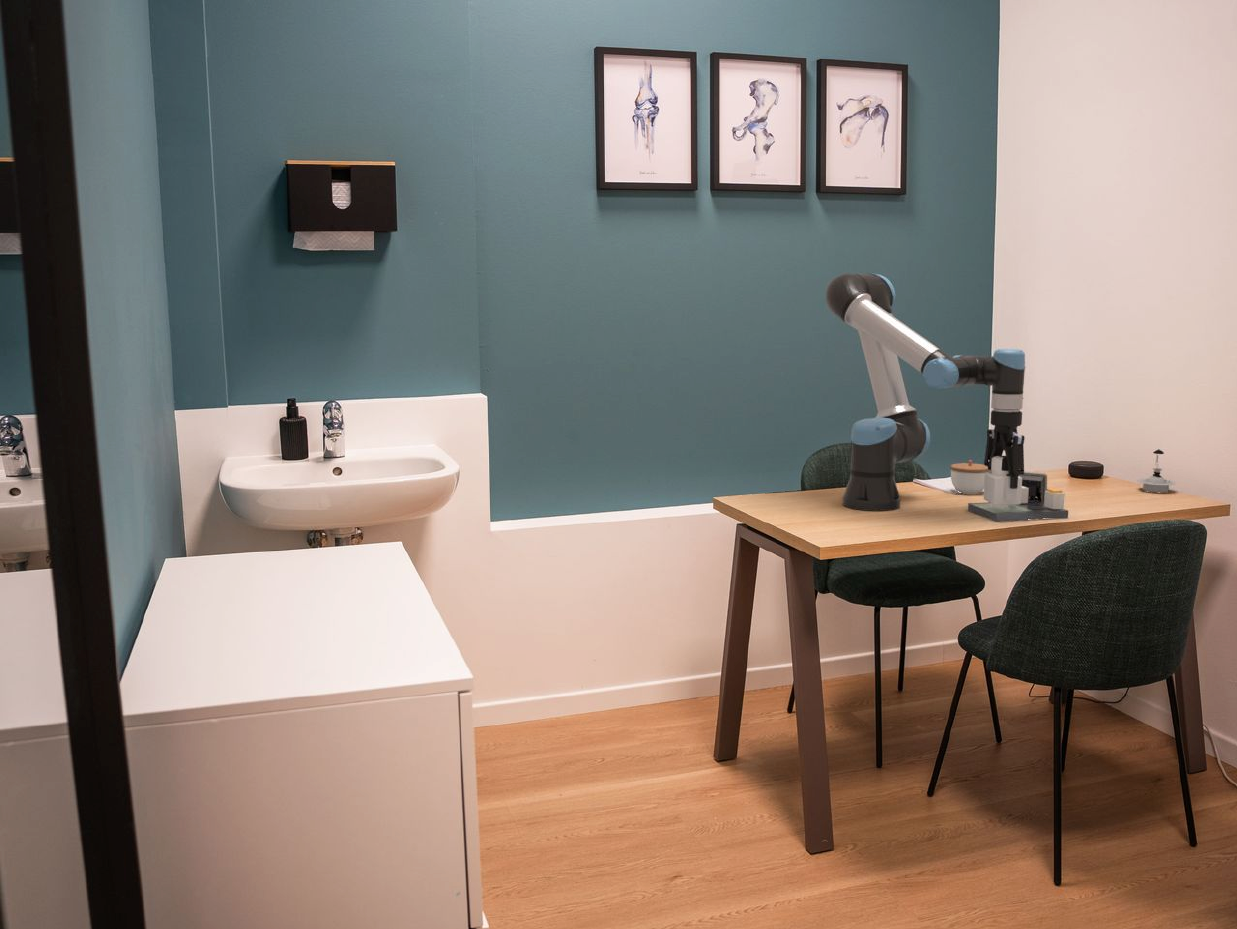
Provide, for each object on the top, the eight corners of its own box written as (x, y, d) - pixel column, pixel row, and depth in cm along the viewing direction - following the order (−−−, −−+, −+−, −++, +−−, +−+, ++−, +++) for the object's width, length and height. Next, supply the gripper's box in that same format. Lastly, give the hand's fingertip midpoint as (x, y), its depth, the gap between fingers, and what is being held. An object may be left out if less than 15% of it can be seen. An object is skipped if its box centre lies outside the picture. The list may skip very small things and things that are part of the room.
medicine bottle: (1009, 499, 273) (1012, 454, 271) (1021, 504, 266) (1023, 458, 264) (982, 499, 272) (985, 454, 270) (993, 505, 265) (996, 458, 263)
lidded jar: (983, 489, 305) (985, 457, 303) (992, 496, 294) (994, 463, 293) (946, 488, 306) (947, 457, 304) (953, 495, 295) (955, 463, 294)
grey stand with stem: (1185, 451, 293) (1167, 446, 303) (1150, 451, 293) (1133, 446, 303) (1182, 494, 295) (1163, 487, 305) (1146, 494, 295) (1129, 488, 305)
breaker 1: (1017, 503, 273) (1018, 488, 272) (1009, 500, 276) (1009, 485, 276) (1027, 503, 273) (1028, 488, 272) (1019, 500, 277) (1020, 485, 276)
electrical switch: (1047, 504, 283) (1048, 471, 280) (1043, 509, 278) (1044, 476, 276) (1011, 501, 288) (1012, 468, 285) (1007, 506, 283) (1008, 473, 281)
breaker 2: (1052, 509, 265) (1054, 491, 264) (1043, 506, 269) (1044, 488, 268) (1063, 508, 266) (1064, 491, 265) (1054, 505, 270) (1055, 488, 269)
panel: (996, 521, 262) (996, 514, 261) (967, 510, 275) (968, 503, 275) (1067, 518, 265) (1068, 510, 265) (1036, 507, 279) (1036, 499, 278)
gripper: (1043, 414, 256) (1037, 504, 259) (998, 405, 276) (994, 489, 279) (1015, 415, 254) (1010, 506, 258) (972, 406, 274) (968, 490, 278)
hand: (1002, 497), depth 269 cm, fingers closed on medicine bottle, 8 cm apart
